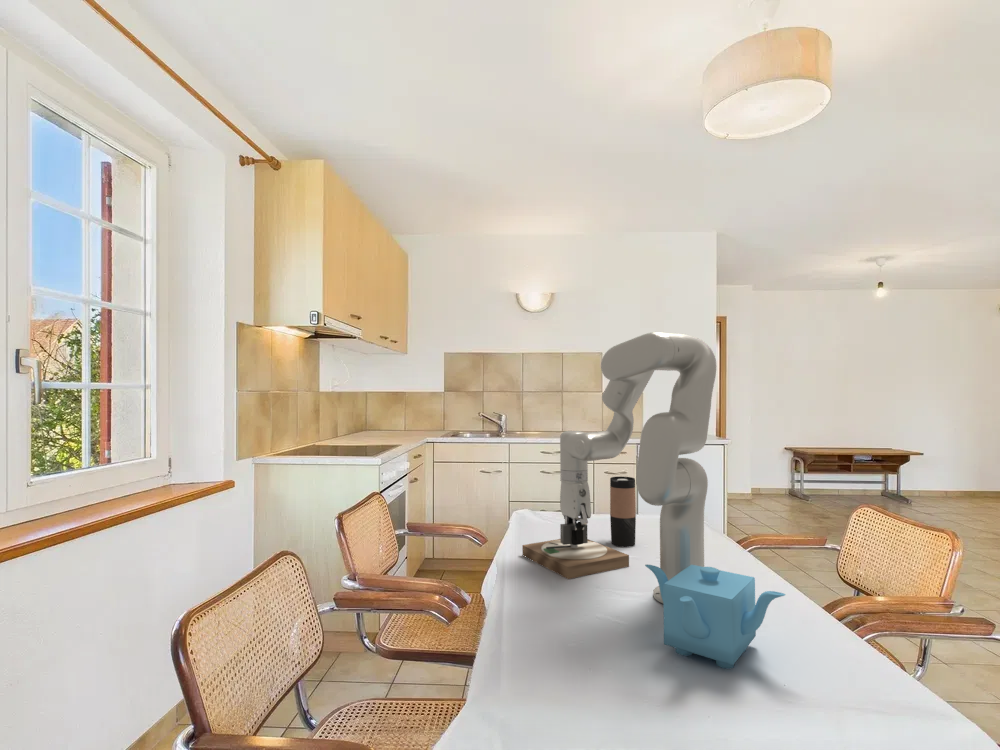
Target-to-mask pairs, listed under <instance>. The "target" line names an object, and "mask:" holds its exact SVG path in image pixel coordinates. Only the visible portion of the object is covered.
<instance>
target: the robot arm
mask: <svg viewBox="0 0 1000 750" xmlns="http://www.w3.org/2000/svg"><path fill="white" fill-rule="evenodd" d="M600 369H601V370H600V371H601V373H602V375H603V376H604V377H605V379H606V380H609V382H608V383H607V385H606V387H605V388H604V389H605V390H604V391H603V393H602V395H601V400H602V402H603V404H604V405H605V407H607V408H608V409H610V411H612V412H613V416H612V419H611V421H610V423H609V425H608V427H607V429H606V430H603V431H591V432H585V431H583V430H582V431H581V430H567V431H563V432H561V434H560V438H559V448H560V451H559V453H560V454H559V458H560V459H559V460H560V461H559V463H560V465H559V467H560V468H559V469H560V470H559V471H560V473H559V474H560V480H559V481H560V490H559V491H560V493H559V503H560V504H559V507H560V509H559V510H560V512H561V514H562V517H563V519H564V524H571V523H573V529H574V530H572V544H573V545H579V544H583V530H584V526H585V525H586V524H587V525H588V523H589V521H588V519H591V517H592V506H591V504H592V503H591V493H590V486H589V482H588V481H589V479H588V477H589V476H588V475H589V473H588V471H589V469H588V468H589V467H588V466H589V462H592V461H599V460H608V459H614V458H616V457H618V456H619V455H620V454H621V453H622V451H624V448H625V447H626V446H627V444H628V443H629V440H630V439H631V436H632V435H633V430H634V414H633V411H634V408H635V407H636V405H637V403H638V401H639V399H640V397H641V395H642V394H643V392H644V391H645V388H646V387H647V385H648V383H649V381H650V379H651V378H652V376H653V374H654V372H655V371H667V372H668V371H676V372H678V373H679V376H678V378H677V380H676V382H675V383H674V386H673V387H672V390H671V398H670V399H671V400H670V406H669V410H668V411H665V412H659V413H655V414H654V415H651V416H650V417H649V418H648V419H647V420H646V422H645V423H644V425H643V427H642V430H641V434H640V439H639V449H638V457H637V458H638V459H637V466H636V473H635V474H636V477H635V485H636V488H637V491H638V494H639V496H640V498H642V500H643V501H644V502H645V503H647V504H649V505H652V506H657V507H659V506H661V508H660V514H659V551H660V552H659V561H660V563H659V568H661V569H662V570H663V571H664V573H665V574H666V576H667V578H668V580H670V579H671V578H673V577H674V576H675V575H677V574H678V573H680V572H681V571H683V570H684V569H686V568H687V567H689V566H690V565H696V566H701V567H705V506H706V499H707V493H708V486H709V484H708V483H709V481H708V476H707V472H706V470H705V468H704V467H703V466H702V464H700V463H699V462H698V461H696V460H695V459H692V458H688V457H679V456H681V455H682V456H683V455H689V454H695V453H697V452H700V451H701V450H702V449H703V448H704V447H705V445H706V443H707V439H708V431H709V425H710V424H709V422H710V417H711V415H710V414H711V409H712V397H713V392H714V391H713V390H714V386H715V380H716V375H717V374H716V373H717V359H716V356H715V353H714V352H713V350H712V348H711V347H710V346H709V345H708V344H707V343H706V342H705V341H703V340H702V339H700V338H698V337H696V336H693V335H689V334H683V333H676V332H675V333H671V332H664V331H663V332H661V331H660V332H658V331H655V332H648V333H644V334H641V335H639V336H636V337H634V338H631V339H628V340H625V341H623V342H621V343H619V344H616V345H613V346H612V347H610V348H609V349H608V350H607V351H606V352H605V353H604V354H603V357H602V359H601V361H600ZM652 595H653V598H654V599H655V600H656V601H657V602H659V603H661V604H663V600H662V596H661V592H660V587H659V585H658V586H656V587H654V589H653V593H652Z"/></svg>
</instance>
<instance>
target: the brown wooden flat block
mask: <svg viewBox="0 0 1000 750" xmlns="http://www.w3.org/2000/svg"><path fill="white" fill-rule="evenodd" d="M567 545H570V544H567ZM553 546H566V545H563V544H562V543H561V540H560V538H558V539H557V538H556V539H552V540H547V541H540V542H539V541H538V542H534V543H527V544H523V545H522V556H523V555H524V556H526V557H527V558H526V557H525V558H526V559H528V558H529V560H530V559H531V560H530V561H532V560H533V561H532V562H534V563H536V564H538V565H540V566H542V567H543V568H546V569H548V570H549V571H552V572H553V573H555V574H557V575H559V576H561V577H563V578H565V579H566V580H571V579H575V578H581V577H585V576H591V575H595V574H599V573H604V572H608V571H614V570H619V569H623V568H629V567H630V555H629V554H627V553H624V552H622V551H619V550H616V549H614V548H612V547H609V546H606V545H604V544H601V543H599V542H595V541H593V540H591V539H588V538H587V543H583V544H579V545H578V547H577V548H571V547H567V548H553V549H546V547H553ZM524 556H523V557H524Z"/></svg>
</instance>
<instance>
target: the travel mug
mask: <svg viewBox="0 0 1000 750" xmlns="http://www.w3.org/2000/svg"><path fill="white" fill-rule="evenodd" d="M609 487H610V488H609V489H610V491H609V493H610V495H609V498H610V500H609V504H610V505H609V509H610V510H609V513H610V514H609V515H610V517H609V519H610V520H609V521H610V542H611V545H613V546H615V547H618V548H619V547H621V548H631V547H635V546H636V524H637V521H636V520H637V519H636V517H637V515H636V514H637V513H636V511H637V510H636V504H637V503H636V502H637V501H636V477H635V478H634V477H631V476H622V475H621V476H612V477H610V479H609Z"/></svg>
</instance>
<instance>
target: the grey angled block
mask: <svg viewBox="0 0 1000 750" xmlns="http://www.w3.org/2000/svg"><path fill="white" fill-rule="evenodd" d="M559 527H560V532H559V535H560V538H559V539H560V540H561V543H562V544H563V545H566V546H553V547H546V549H553V548H567V547H571V548H577V547H578V545H573V544H572V530H574V529H573V523H571V524H565V523H561V524H560V525H559ZM587 539H588V523H587V524H586V525H585V526H584V530H583V543H587ZM567 544H570V545H567Z"/></svg>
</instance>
